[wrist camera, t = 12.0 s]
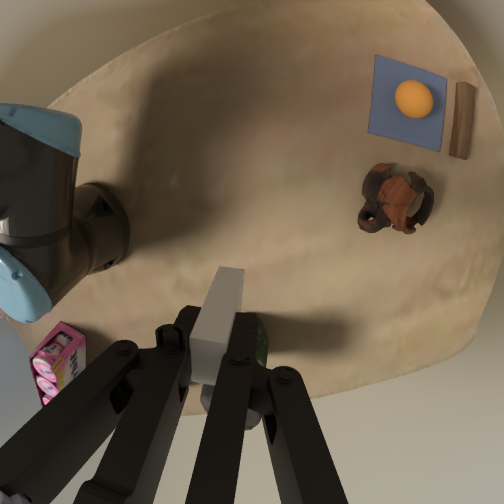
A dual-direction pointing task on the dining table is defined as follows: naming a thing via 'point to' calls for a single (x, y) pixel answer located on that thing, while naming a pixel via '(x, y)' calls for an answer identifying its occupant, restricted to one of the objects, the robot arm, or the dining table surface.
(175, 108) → the dining table surface
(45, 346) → the gum box
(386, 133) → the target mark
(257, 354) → the coffee jar
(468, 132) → the stopper strip
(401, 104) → the ball
